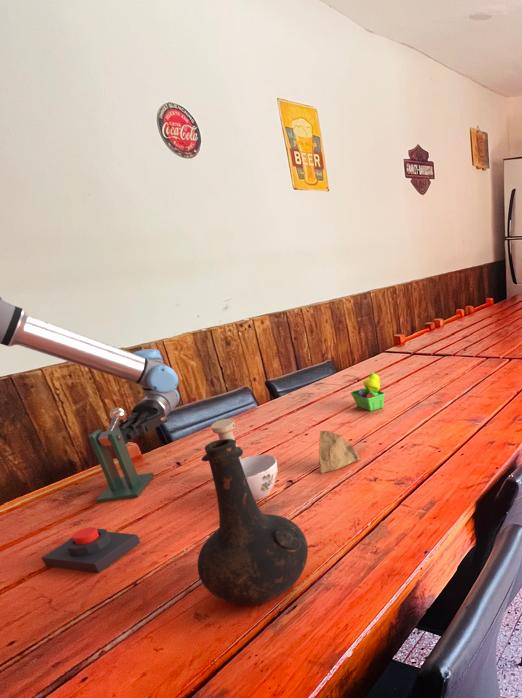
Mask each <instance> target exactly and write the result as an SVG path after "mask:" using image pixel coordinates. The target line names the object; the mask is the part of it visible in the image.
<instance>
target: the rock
mask: <svg viewBox="0 0 522 698" xmlns="http://www.w3.org/2000/svg"><path fill="white" fill-rule="evenodd" d="M318 444H319V445H318V446H319V447H318V448H319V452H318V453H319V454H318V455H319V456H318V463H319V464H318V465H319V472H320V474H321V475H323V474H324V473H327V472H333V471H336V470H339V469H341V468H344V467H346V466H349V465H351V464H352V463H355V462H358V461H360V460H361V458H360V456H359V454H358V452H357V451H356V449H355V448H354V446H353V445H352V444H350V443H349V442H348V441H347V440H346V439H344V437H342V436H341V435H339V434H338V433H335V432H332V431H330V430H320V432H319V443H318Z"/></svg>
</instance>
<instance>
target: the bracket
mask: <svg viewBox="0 0 522 698" xmlns="http://www.w3.org/2000/svg"><path fill="white" fill-rule="evenodd" d="M101 432H103V431H102V429H95V430H94V431H93V432H92V433H91V434H90V435H89V436H88V439H89V442H90V444H91V446H92V448H93V452H94V453H95V456H96V458H97V460H98V463H99V466H100V468H101V471H102V473H103V475H104V477H105V480H106V482H107V484H108V485H107V487H105V489H104V490H103V491H102V492H101V493H100V495H98V496H97V498H96V499H95V502H96V503H97V504H104V503H110V502H111V503H112V502H116V501H124V500H131V499H138V498H139V497H140V496H141V495H142V493H143V492H144V491H145V489H146V488H147V487H148V486H149V484H150V482H151V481H152V480H153V479H154V478H155V474H154V472H149V473H140V474H138V472H137V470H136V468H135V465H134V462H133V460H132V457H131V454H130V452H129V449H128V447H127V444H125V441H124V439H123V436H122V434H121V431H120V429H119V428H114V429H113V430H112V431H111V432H110V433H109V434H107V435H108V437H109V440H110V442H111V445H112V446H111V448H112V450H113V453H114V454H115V457H116V460H117V462H118V465H119V467H120V470H121V472H122V474H123V476H121V475H120V473H119V471H118V468H117V466H116V464H115V460H114V458H113V456H112V453H111V451H110V448H109V446H105V447H102V445H101V444H100V442H99V440H98V438H99V436H100V434H101Z"/></svg>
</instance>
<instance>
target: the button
mask: <svg viewBox="0 0 522 698" xmlns="http://www.w3.org/2000/svg"><path fill="white" fill-rule="evenodd" d="M97 529H98V528H96V527H93V526H90V527H89V526H88V527H85V528H82V529H79V530H77V531H75V532H74V533H73V534H72V536H71V538H73V540H74V542H75V544H76V545H83V544H87V543H90V542H92V541H94V540H96V539H97V538H99V534H98V532H97Z"/></svg>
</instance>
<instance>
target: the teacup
mask: <svg viewBox="0 0 522 698" xmlns="http://www.w3.org/2000/svg"><path fill="white" fill-rule="evenodd" d="M240 462H241V465H242V468H243V471H244V474H245V476H246V479H247V482H248V484H249V487H250V490H251V492H252V494H253V497H254V499H255V501H257V500H261V499H263V498H265V497H267V496H268V495H269V494H270V492H271V491H272V489H273V488H274V486H275V485H276V482H277V480H278V479H277V477H278V461H277V458H275V456H274V455H269V454H257V455H250V456H246V457H243V458H241V459H240Z"/></svg>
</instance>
